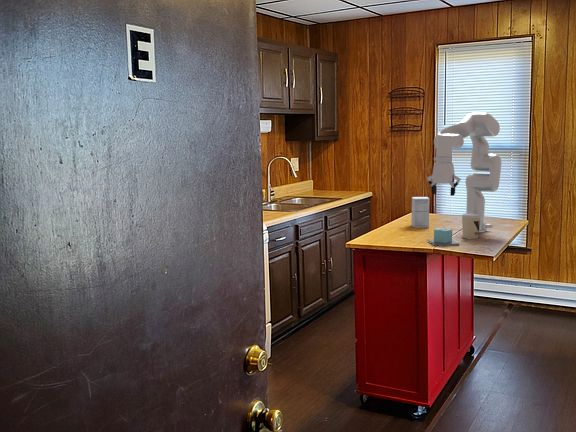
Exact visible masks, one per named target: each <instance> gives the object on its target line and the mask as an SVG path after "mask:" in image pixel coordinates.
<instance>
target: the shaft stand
mask: <svg viewBox="0 0 576 432" xmlns="http://www.w3.org/2000/svg"><path fill="white" fill-rule="evenodd" d="M446 229H447V228H446ZM446 229H441V230H446ZM427 241H429V242H431V243H432V244H434V245H456V246H458V247H459V246H460V242H457V241H455V240H453V239H452V241H451V242H448V243H441V242H434V238H433V239H432V238H431V239H426V242H427ZM429 242H428V243H429ZM431 243H430V244H431ZM432 244H431V245H432ZM434 245H433V246H434Z"/></svg>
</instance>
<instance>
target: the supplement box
mask: <svg viewBox="0 0 576 432" xmlns="http://www.w3.org/2000/svg"><path fill="white" fill-rule="evenodd" d="M410 218H411V219H410V220H411V221H410V225H411V227H412V228H430V198H429V197H428V196H412V197H411V217H410Z"/></svg>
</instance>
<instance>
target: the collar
mask: <svg viewBox="0 0 576 432" xmlns="http://www.w3.org/2000/svg"><path fill="white" fill-rule="evenodd" d="M441 229H446V230H441ZM433 239H434V242H441V243H448V242H451V241H452V240H453V229H452V228H444V227H439V228H435V229H433Z"/></svg>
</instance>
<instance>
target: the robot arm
mask: <svg viewBox="0 0 576 432" xmlns="http://www.w3.org/2000/svg"><path fill="white" fill-rule="evenodd" d="M500 131H501V127H500V123H499V121H498V120H497V119H496V118H495V117H494V116H493V115H492V114H490V113H487V112H471V113H467V114H465V115H464V117H462V119H460V120H459V121H458V122H457V123H455V124H452V125H450V126H447V127H444V128H442V129H441V130H440V131H438V133H437V134H435V136H434V139H433V144H434V147H435V148H436V151H435V152H436V156H435V157H433V161H435V162H434V163H433V167H432V174H431V175H429V176H427V177H426V179H427V181H428V184H429V185H430V187H431V195H432V196H433V195H434V196H435V195H436V194H437V186H436V185H437V184H445V185H446V184H447V185H448V184H449V185H450V194H449V195H450V196H451V197H453V196H455V194H456V187H457V186H458V185H459V184H460V182H461V180H462V178H460V177H459V176H457V175H456V174H455V166H454V162H453V150H458V149H459V150H460V149H461V148H462V147H463V146H464V143H465V141H464V139H465V138H468V137H469V138H470V140H471V143H472V150H471V157H470V159H471V160H470V168H471V170H472V171H475V173H471V174H468V175H467V176H466V177H465V189H466V212H465V213H473V214H480V216H481V217H480V227H479V233H486V232H488V231H487V228H489V229H490V228H493V226H494V225H493V224H492V223H486V222H485V210H486V209H485V208H486V207H485V204H486V199H485V196H484V194H483V192H487V193H494V192H496V191H497V190H498V189H499V187H500V182H501V181H500V180H501V173H502V172H501V171H502V158H501V156H500V155H498V154H496V153H495V154H494V153H489V150H490V145H489V142H488V139H486V137H493V138H494V137H497V136H498V135H499V133H500ZM476 172H477V173H476ZM478 172H487V173H478ZM488 172H489V173H488ZM455 180H456V182H455Z"/></svg>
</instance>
